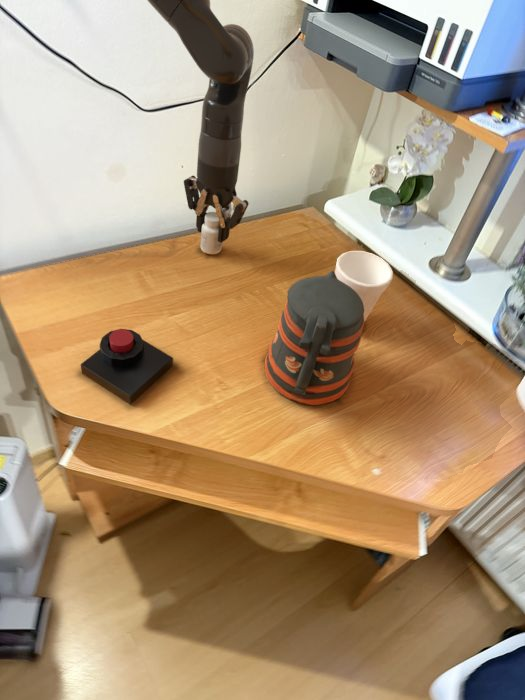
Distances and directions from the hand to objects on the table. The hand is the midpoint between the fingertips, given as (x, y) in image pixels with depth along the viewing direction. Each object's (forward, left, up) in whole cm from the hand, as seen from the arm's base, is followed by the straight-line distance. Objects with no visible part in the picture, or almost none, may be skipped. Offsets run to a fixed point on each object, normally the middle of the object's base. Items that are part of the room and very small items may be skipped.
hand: (211, 235), depth 105 cm
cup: (+32, -1, -4) cm, 32 cm away
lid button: (+7, -34, 0) cm, 35 cm away
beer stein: (+33, -19, -4) cm, 38 cm away
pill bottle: (0, 0, -4) cm, 4 cm away
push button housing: (+9, -35, -4) cm, 36 cm away
